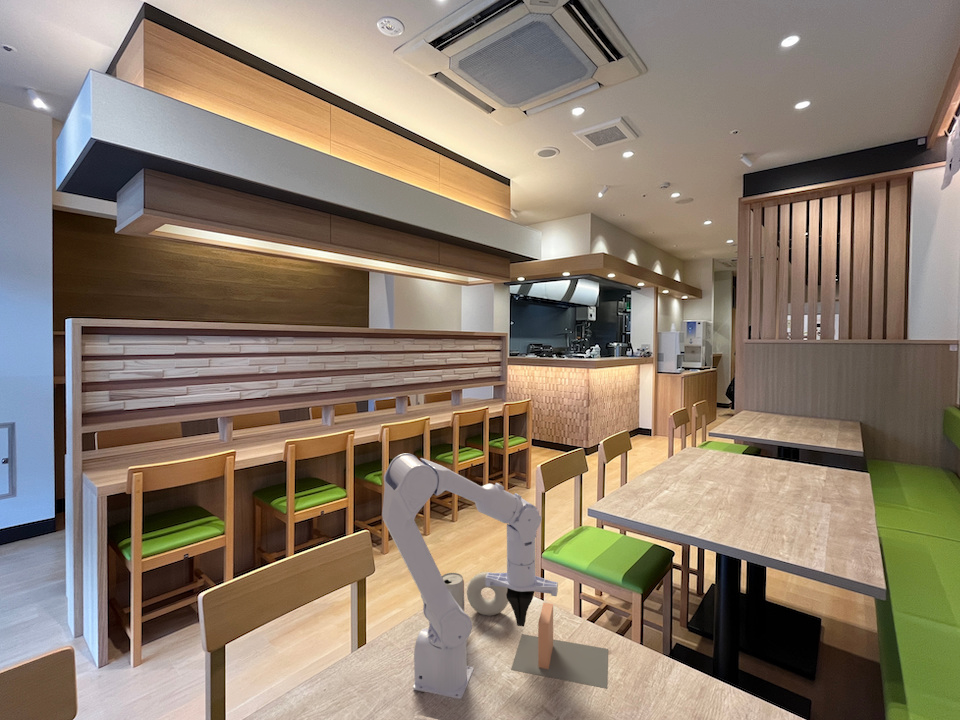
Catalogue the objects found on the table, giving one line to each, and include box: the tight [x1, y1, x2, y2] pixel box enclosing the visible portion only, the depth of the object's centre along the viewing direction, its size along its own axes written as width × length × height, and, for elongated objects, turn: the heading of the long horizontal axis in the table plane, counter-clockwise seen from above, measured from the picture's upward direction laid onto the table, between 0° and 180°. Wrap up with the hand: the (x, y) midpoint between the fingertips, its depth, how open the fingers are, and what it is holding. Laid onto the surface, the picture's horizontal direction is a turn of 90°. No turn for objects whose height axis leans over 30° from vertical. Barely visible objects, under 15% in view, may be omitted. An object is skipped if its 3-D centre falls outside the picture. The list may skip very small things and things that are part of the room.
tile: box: [537, 602, 554, 669], centre depth 94 cm, size 2×7×9 cm, turn 164°
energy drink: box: [441, 572, 465, 612], centre depth 103 cm, size 5×5×12 cm
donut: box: [466, 571, 509, 617], centre depth 109 cm, size 10×4×10 cm, turn 82°
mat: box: [510, 633, 609, 689], centre depth 94 cm, size 18×11×1 cm, turn 74°
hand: (521, 623), depth 96 cm, fingers closed
